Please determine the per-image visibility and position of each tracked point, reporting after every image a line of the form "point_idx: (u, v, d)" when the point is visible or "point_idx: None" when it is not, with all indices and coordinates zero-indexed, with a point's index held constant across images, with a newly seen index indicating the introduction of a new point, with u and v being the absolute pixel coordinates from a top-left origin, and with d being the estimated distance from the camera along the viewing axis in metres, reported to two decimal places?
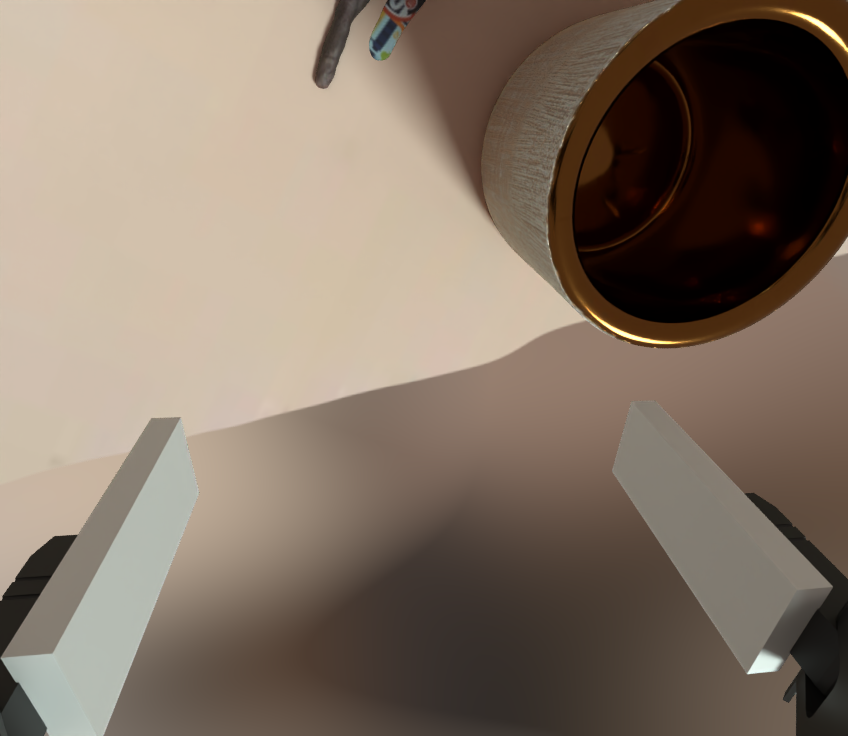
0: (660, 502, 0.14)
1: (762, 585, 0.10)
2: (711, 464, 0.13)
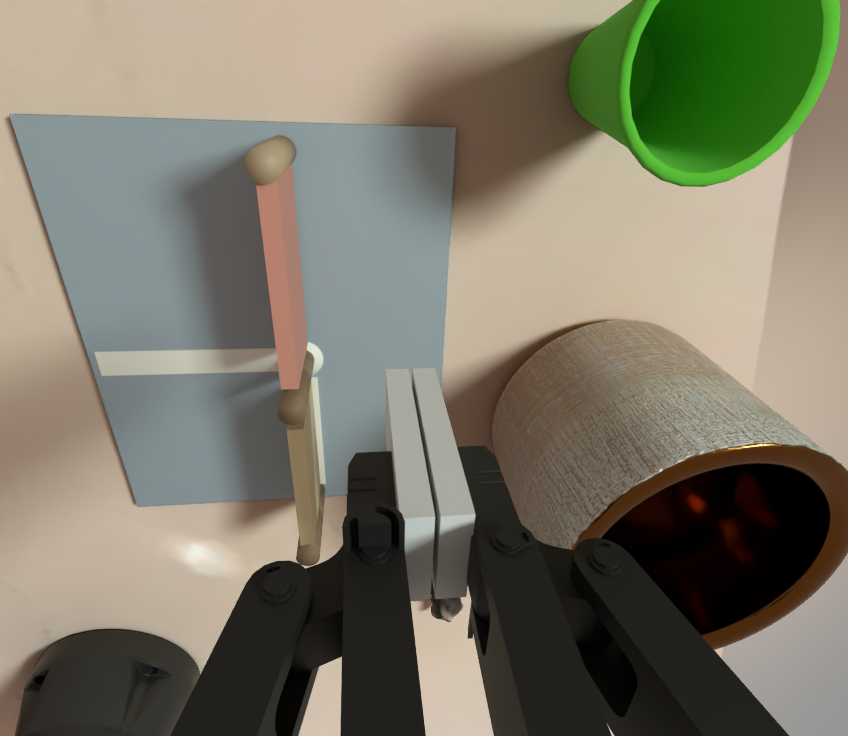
0: None
1: (435, 517, 0.11)
2: (448, 419, 0.14)
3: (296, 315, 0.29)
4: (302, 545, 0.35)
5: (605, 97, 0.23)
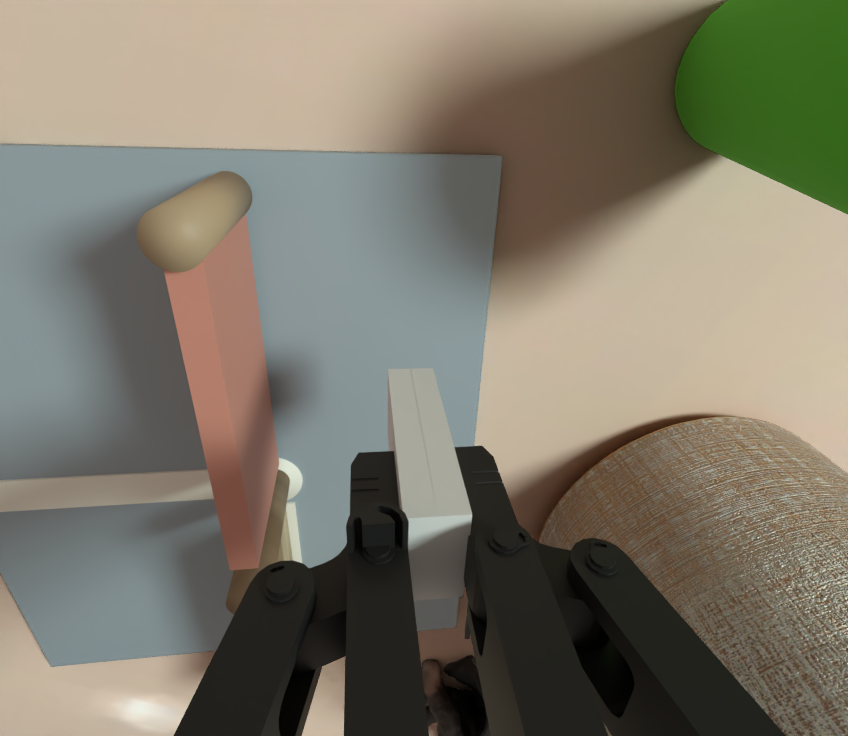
0: None
1: None
2: (445, 419, 0.14)
3: (254, 452, 0.18)
4: None
5: (807, 112, 0.12)
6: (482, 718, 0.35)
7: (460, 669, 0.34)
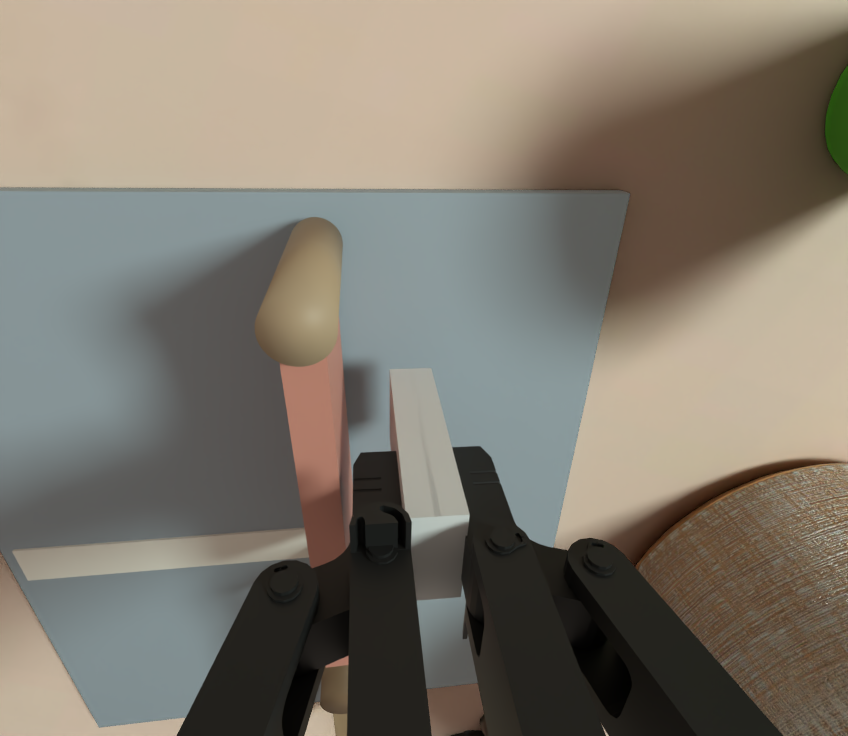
0: None
1: None
2: (444, 419, 0.14)
3: (349, 534, 0.16)
4: None
5: None
6: None
7: None
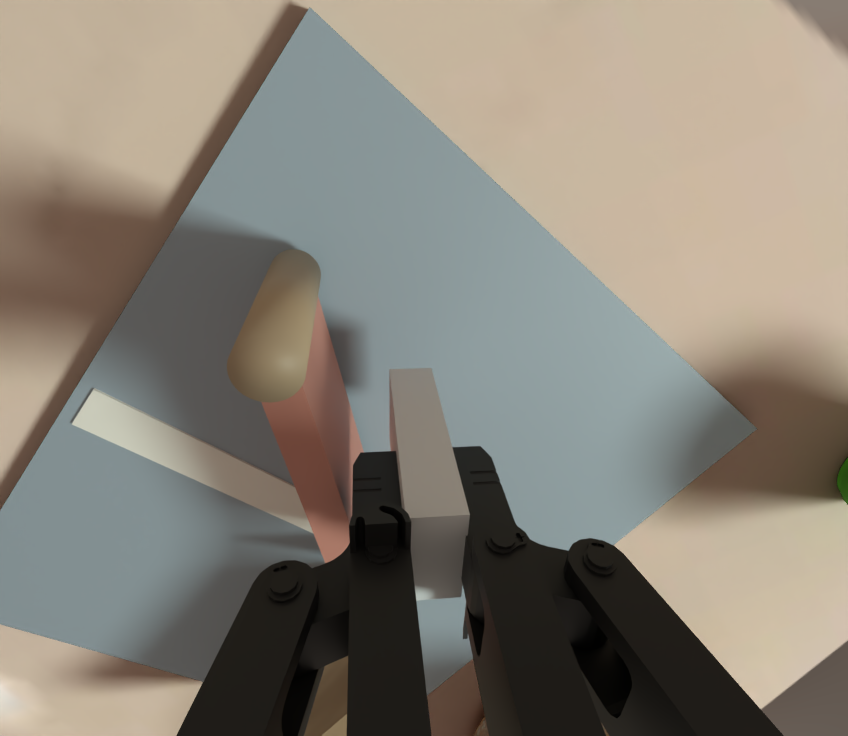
0: None
1: None
2: (444, 419, 0.14)
3: None
4: None
5: None
6: None
7: None
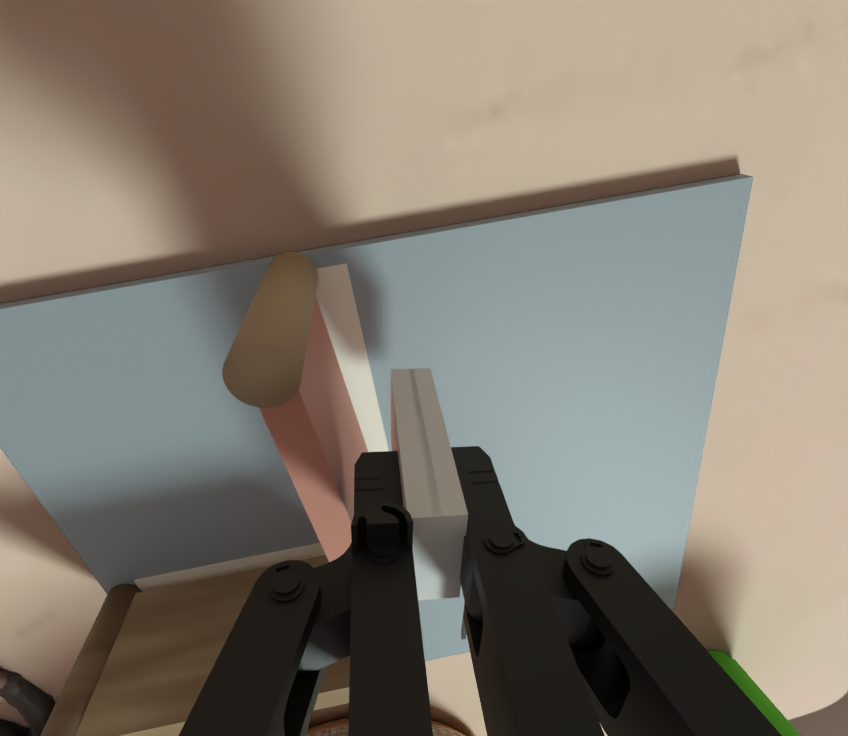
0: None
1: None
2: (442, 419, 0.14)
3: None
4: None
5: None
6: None
7: None
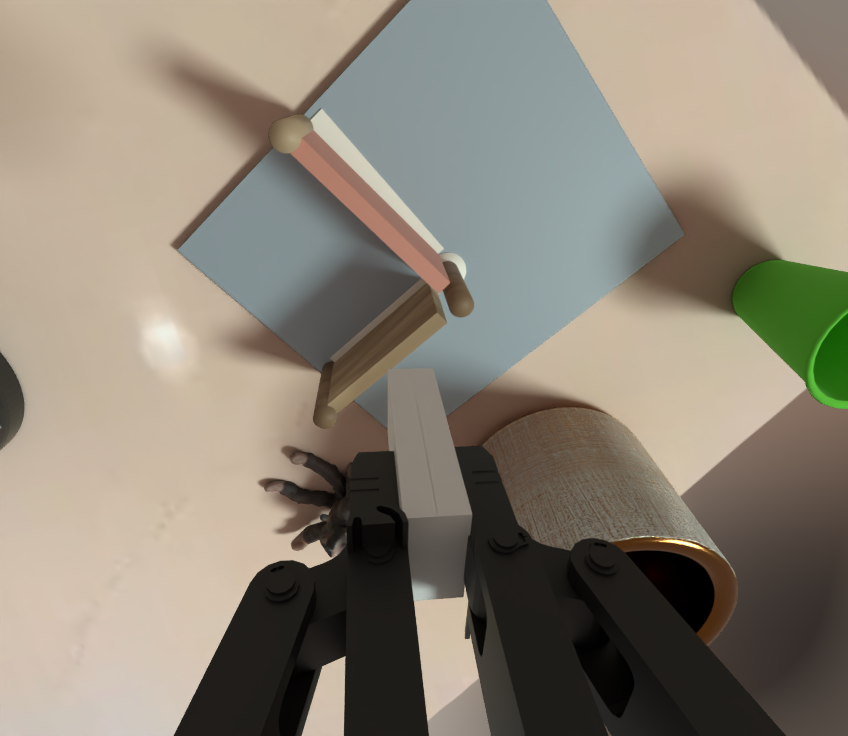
0: None
1: None
2: (445, 420, 0.14)
3: (404, 232, 0.31)
4: (328, 405, 0.34)
5: (807, 305, 0.33)
6: None
7: None
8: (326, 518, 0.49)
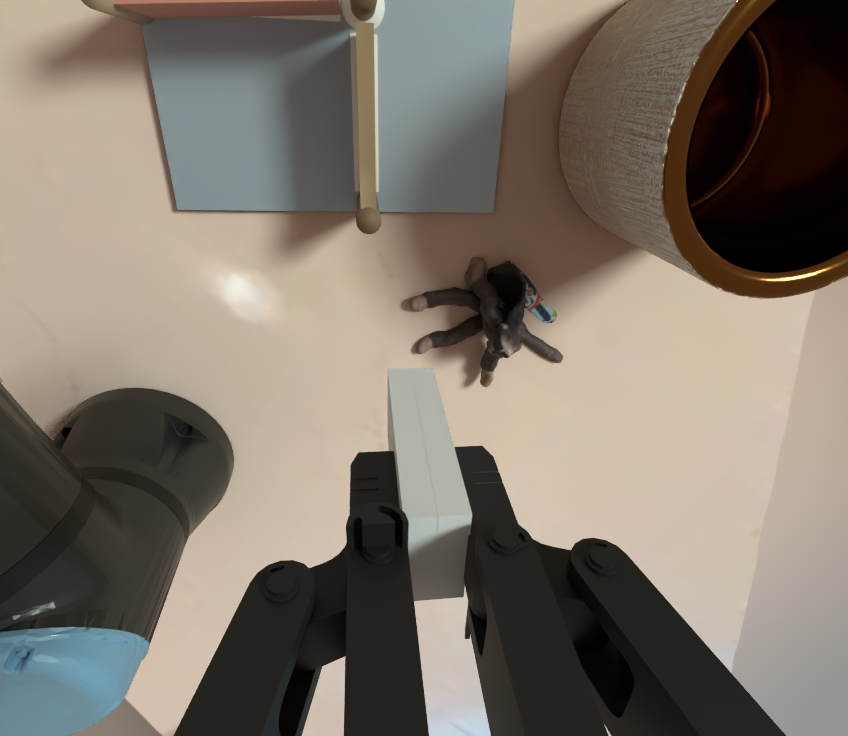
0: None
1: None
2: (445, 419, 0.14)
3: None
4: (362, 208, 0.32)
5: None
6: None
7: (501, 267, 0.42)
8: None
